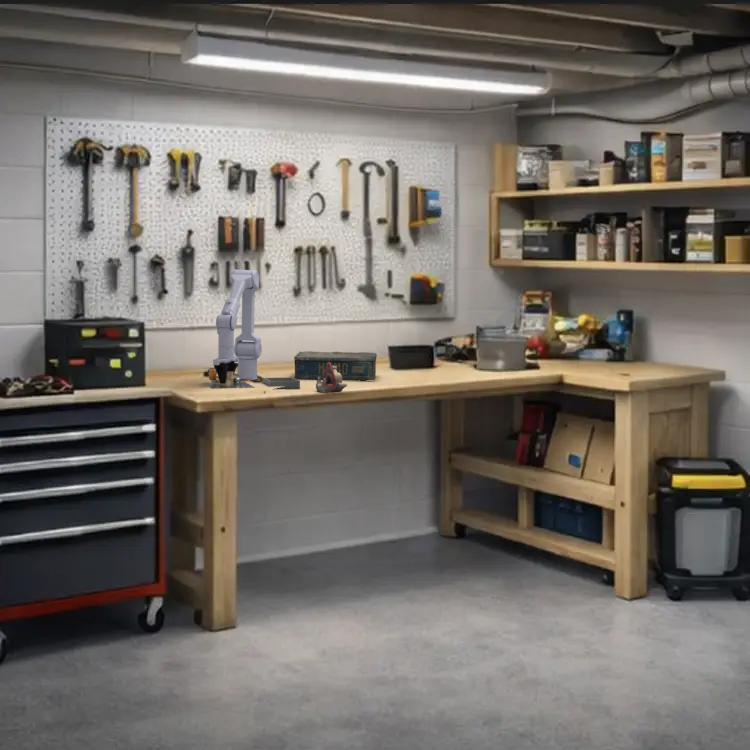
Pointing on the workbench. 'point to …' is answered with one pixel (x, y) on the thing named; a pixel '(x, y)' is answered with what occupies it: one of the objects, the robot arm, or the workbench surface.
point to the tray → (282, 382)
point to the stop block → (228, 379)
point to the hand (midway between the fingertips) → (225, 382)
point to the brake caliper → (330, 381)
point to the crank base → (235, 385)
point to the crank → (213, 379)
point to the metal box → (347, 365)
